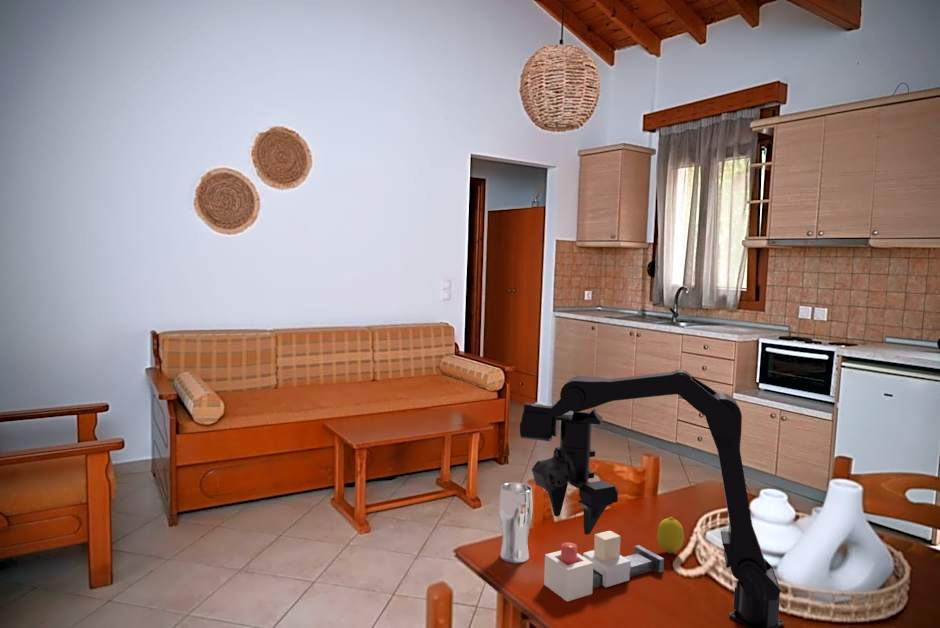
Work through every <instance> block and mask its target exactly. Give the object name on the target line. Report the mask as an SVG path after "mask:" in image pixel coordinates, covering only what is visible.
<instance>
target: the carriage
mask: <svg viewBox="0 0 940 628" xmlns="http://www.w3.org/2000/svg"><path fill="white" fill-rule="evenodd" d="M593 545H594V547H593V549H592V550H588V551H586V552H585V551H584V552H583V554H582V556H583V557H585V558H586V559H588V560H589V561H591V562H593V569H594V570H596V571H597V572H599V573H600V574H602V575H603V582H602V585H603V587H604V588H609V587H612V586H615V585H619V584H621V583H626V582H628V581H630V577H629V573H630V567H631V561H630V560H628V559H626V558H625V557H626V556H623V555H621V535H619V534H617V532H614V531H611V530H607V531H603V532H598V533H595V534H594V542H593Z"/></svg>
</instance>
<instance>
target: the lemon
mask: <svg viewBox="0 0 940 628" xmlns="http://www.w3.org/2000/svg"><path fill="white" fill-rule="evenodd" d="M656 537H657V543H658V544H659V546H660V547H661V548H662V550H664V551H666V552H667V553H668V554H672V553H673V552H677V551H679V550H680V549H681V548H682V546H683V544H684V541H685V540H684V539H685V534H684V528H683V525H682V524H681V523H680V522H679V520H677V519H675V518H674V517H672V516H669V517H667V518H665V519H662V520H661V521H660V522H659V524H658V527H657V531H656Z"/></svg>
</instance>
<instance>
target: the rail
mask: <svg viewBox="0 0 940 628" xmlns="http://www.w3.org/2000/svg"><path fill="white" fill-rule="evenodd" d="M633 549H634V551H633V552H634V553H632V554H630V555H627V556H624V557H625V558H626V559H628V560H630V561H631V567H630V573H629V578H632V577H635V576H638V575H641V574H645V573H649V572H652V571H654V572H656V573H658V574H661V573H663V572H664V566H665V565H664V564H665V558H664V557H662V556H660V555H658V554H656V553H654V552H652V551H651V550H649V549H647V548H645V547H643V546H642V545H639V544H638V545H637V544H636V545H635V546H634V548H633ZM602 582H603V575H602V574H600V573H599V572H597V571H596V570H594V569H593V588H592V589H595V588H599V587H602V586H603V585H602ZM603 587H604V586H603Z"/></svg>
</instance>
